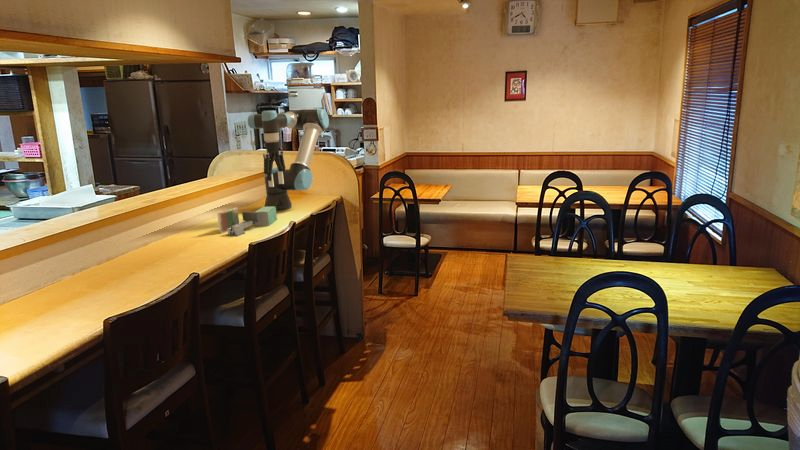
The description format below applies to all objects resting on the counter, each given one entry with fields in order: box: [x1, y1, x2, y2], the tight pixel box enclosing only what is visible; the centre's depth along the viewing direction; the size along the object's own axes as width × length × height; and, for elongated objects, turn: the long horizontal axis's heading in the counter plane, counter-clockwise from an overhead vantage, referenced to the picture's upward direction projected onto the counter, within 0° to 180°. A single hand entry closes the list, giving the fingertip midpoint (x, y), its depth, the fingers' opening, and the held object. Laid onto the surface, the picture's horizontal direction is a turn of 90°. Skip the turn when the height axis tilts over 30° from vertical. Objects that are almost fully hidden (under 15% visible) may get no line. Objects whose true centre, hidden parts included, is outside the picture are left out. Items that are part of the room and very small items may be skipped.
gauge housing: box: [217, 206, 246, 237], centre depth 254 cm, size 15×12×10 cm
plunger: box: [232, 210, 260, 231], centre depth 254 cm, size 14×12×6 cm
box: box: [254, 206, 278, 227], centre depth 268 cm, size 7×14×8 cm, turn 175°
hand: (276, 185), depth 276 cm, fingers open, 8 cm apart
